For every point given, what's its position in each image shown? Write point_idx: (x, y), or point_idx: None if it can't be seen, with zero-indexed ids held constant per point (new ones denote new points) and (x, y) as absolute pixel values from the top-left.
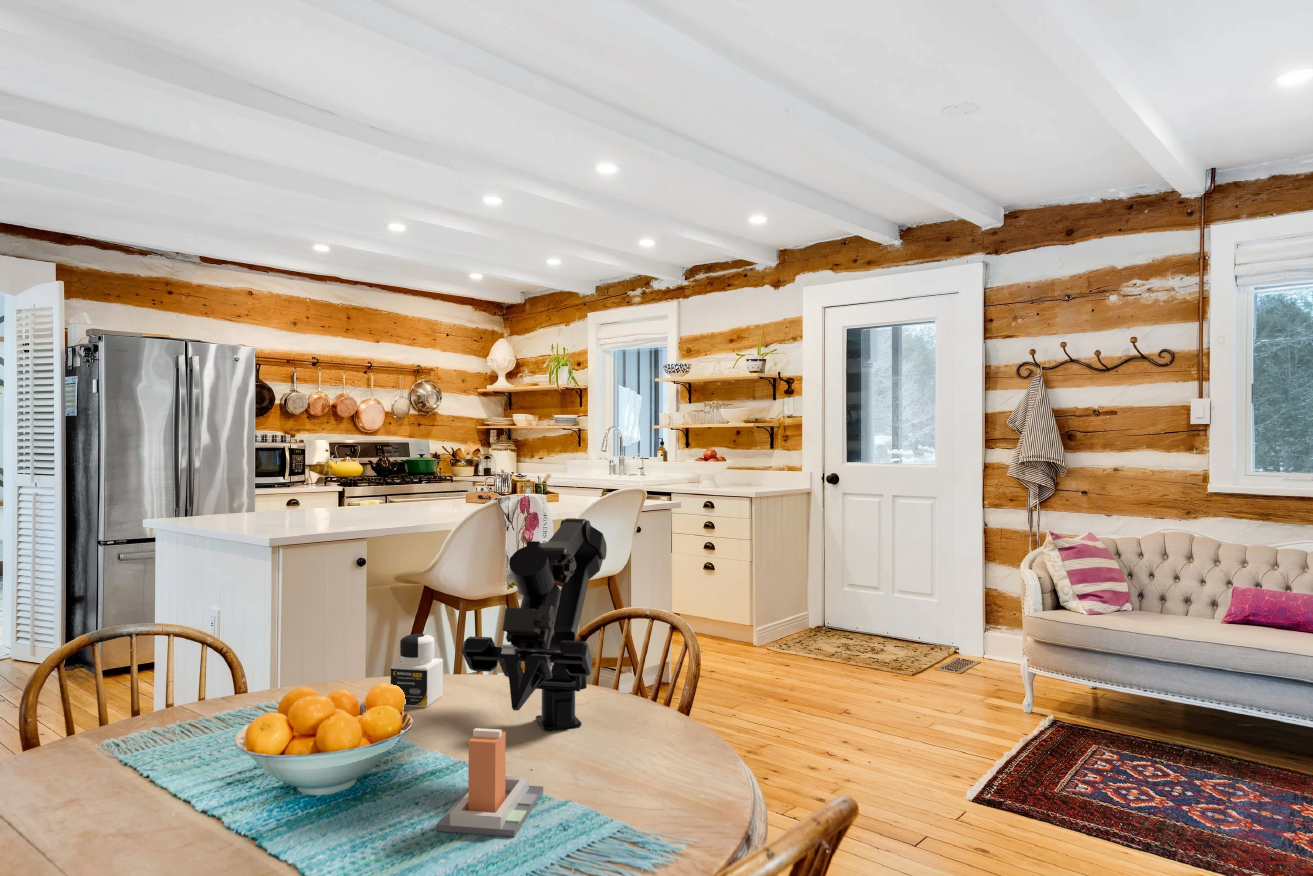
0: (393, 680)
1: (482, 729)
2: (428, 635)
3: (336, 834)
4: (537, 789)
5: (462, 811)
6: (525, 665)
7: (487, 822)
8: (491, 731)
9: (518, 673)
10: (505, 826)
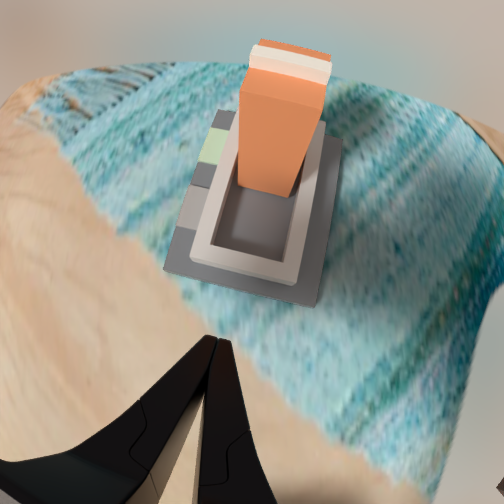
0: None
1: (307, 61)
2: None
3: (454, 165)
4: (174, 254)
5: None
6: (125, 495)
7: None
8: (278, 49)
9: (196, 497)
10: (232, 119)
